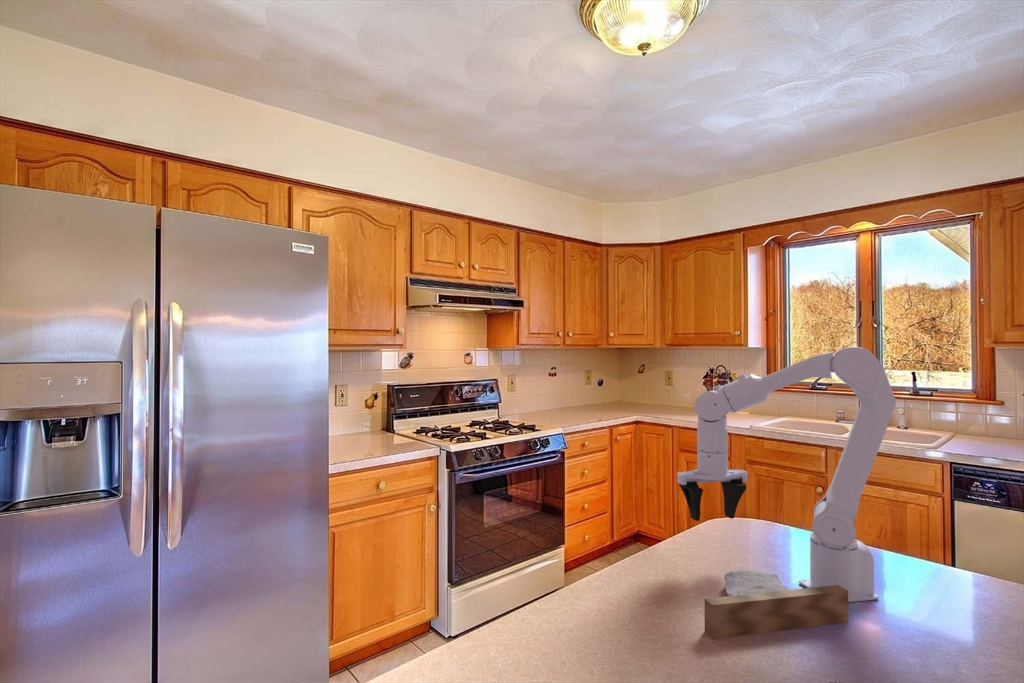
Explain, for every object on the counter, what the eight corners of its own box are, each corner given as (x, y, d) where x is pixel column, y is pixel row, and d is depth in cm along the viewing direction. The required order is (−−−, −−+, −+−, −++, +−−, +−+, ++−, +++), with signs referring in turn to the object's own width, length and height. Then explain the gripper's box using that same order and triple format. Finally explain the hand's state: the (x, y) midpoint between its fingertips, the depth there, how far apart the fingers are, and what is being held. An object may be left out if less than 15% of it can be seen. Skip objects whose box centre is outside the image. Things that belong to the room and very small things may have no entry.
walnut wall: (837, 615, 81) (837, 585, 81) (848, 622, 79) (848, 590, 79) (704, 631, 77) (704, 598, 77) (712, 638, 75) (712, 605, 75)
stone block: (739, 630, 81) (804, 623, 79) (732, 599, 81) (797, 592, 79) (721, 596, 92) (777, 590, 91) (715, 570, 93) (771, 563, 91)
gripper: (732, 445, 106) (732, 509, 106) (669, 447, 103) (669, 513, 103) (754, 452, 99) (754, 520, 99) (687, 455, 96) (687, 525, 96)
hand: (712, 518), depth 100 cm, fingers open, 7 cm apart
